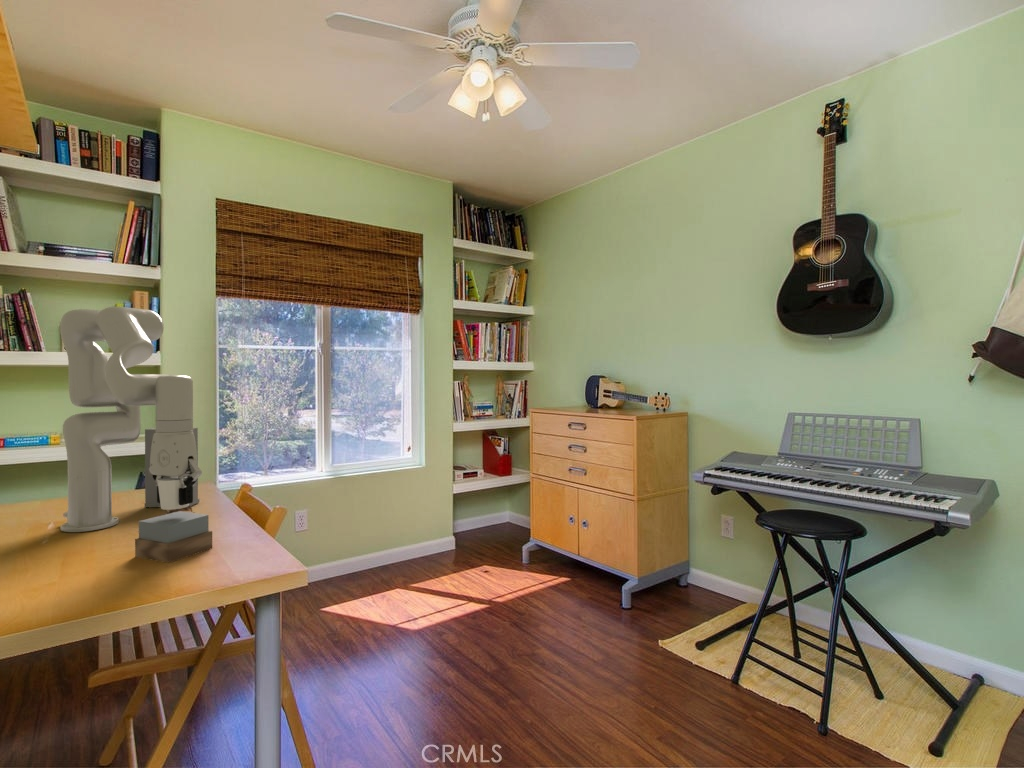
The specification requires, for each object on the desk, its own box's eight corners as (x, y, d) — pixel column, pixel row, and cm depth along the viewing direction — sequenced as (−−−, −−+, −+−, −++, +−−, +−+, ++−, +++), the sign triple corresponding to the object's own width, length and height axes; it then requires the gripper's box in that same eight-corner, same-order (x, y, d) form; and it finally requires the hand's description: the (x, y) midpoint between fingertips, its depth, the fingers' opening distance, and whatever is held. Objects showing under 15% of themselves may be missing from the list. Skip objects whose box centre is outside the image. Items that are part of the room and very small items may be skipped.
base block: (135, 558, 122) (135, 539, 122) (179, 544, 132) (179, 526, 132) (169, 564, 118) (169, 544, 118) (212, 549, 128) (212, 531, 128)
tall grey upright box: (199, 503, 174) (199, 427, 174) (189, 507, 168) (189, 429, 167) (156, 503, 173) (156, 427, 173) (144, 508, 167) (144, 429, 167)
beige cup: (175, 510, 121) (175, 480, 121) (150, 509, 122) (150, 479, 122) (198, 504, 128) (198, 475, 127) (174, 502, 129) (174, 474, 129)
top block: (138, 538, 122) (138, 521, 122) (180, 526, 131) (180, 510, 131) (167, 543, 118) (167, 525, 118) (208, 531, 128) (208, 515, 128)
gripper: (132, 427, 124) (133, 503, 124) (187, 430, 118) (187, 509, 119) (163, 424, 131) (163, 496, 131) (216, 427, 125) (216, 502, 126)
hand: (175, 502), depth 125 cm, fingers closed on beige cup, 6 cm apart
